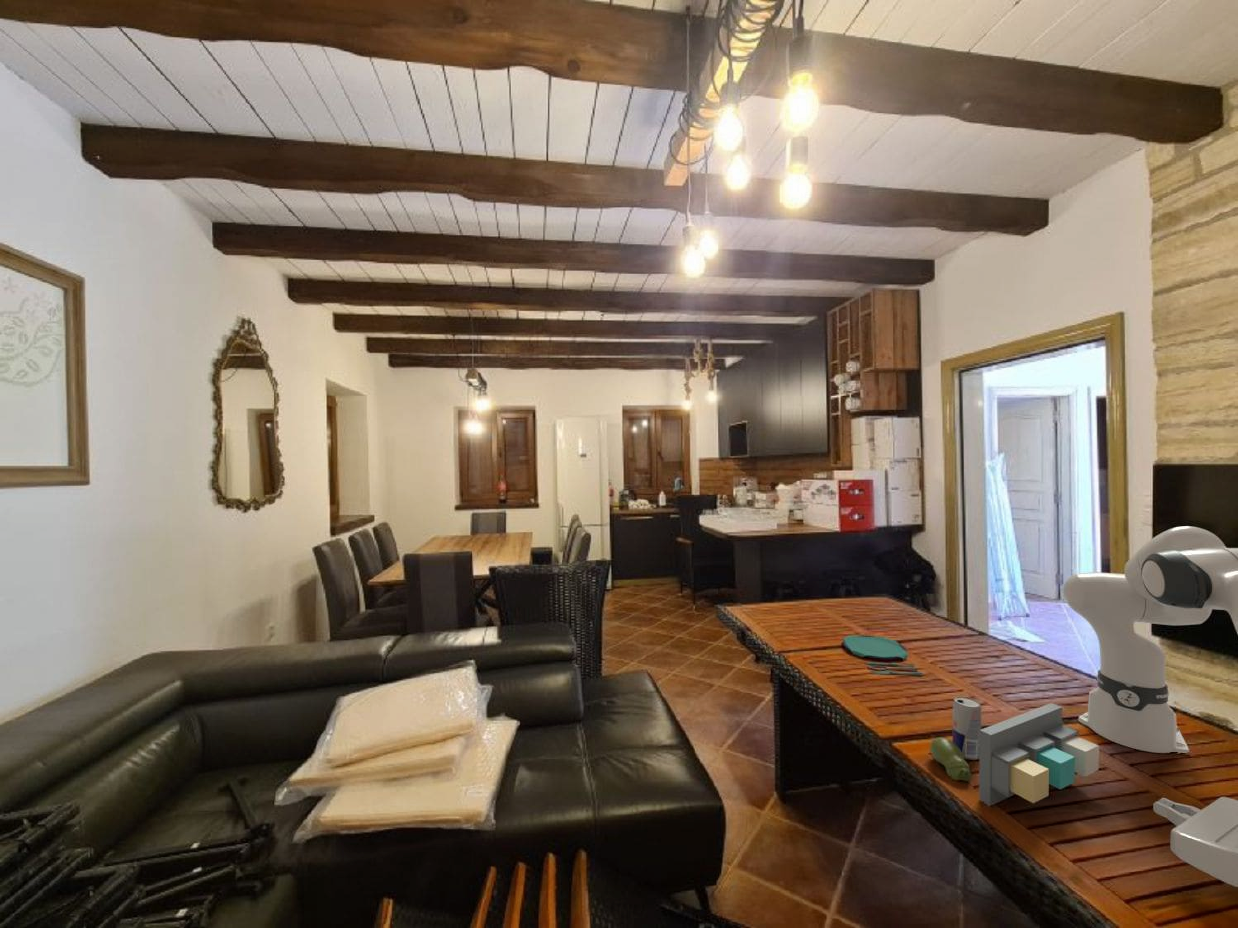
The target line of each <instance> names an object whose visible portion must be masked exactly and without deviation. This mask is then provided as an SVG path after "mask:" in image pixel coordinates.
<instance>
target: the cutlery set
mask: <svg viewBox="0 0 1238 928" xmlns="http://www.w3.org/2000/svg"><path fill="white" fill-rule="evenodd" d="M842 644H843V647H845V649H846V650H847V651H848V650H849V651H850V652H851V653H852V654H853V655H854V656H858V657H860V658H864V657H865V658H870V659H871V658H872V659H878V660H895V659H900V658H902V660H903V661H905V660H907V658H908V657H909V655H908V650H907V648H906V647H905V646H904V645H903V644H901V643H900V642H898V641H896V640H894V639H891V638H887V637H883V636H875V635H863V634H862V635H855V634H854V635H853V634H852V635H848V636H846V637H843V638H842ZM865 665H867V668H869V669H871V671H870V672H871V673H872V674H873V675H885V676H890V675H893V674H894V675H899V676H919V677H923V672H921V671H920V672H919V669H918V667H915V665H914V664H905V663H903V664H902V663H897V662H889V663H887V662H874V661H873V662H871V661H868V662H865ZM887 666H890V667H887ZM892 666H893V667H892ZM896 666H901V667H896ZM903 666H906V667H903ZM907 666H908V667H907ZM878 668H881V669H878ZM892 670H905V671H906V670H909V671H913V672H901V671H900V672H899V671H892Z"/></svg>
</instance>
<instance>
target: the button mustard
mask: <svg viewBox="0 0 1238 928" xmlns="http://www.w3.org/2000/svg"><path fill="white" fill-rule="evenodd" d="M1049 788H1050V784H1049V769H1048V768H1046V767H1043V766H1041V765H1039V764H1037V763H1035V762H1033V761H1031V760H1029V759H1027V758H1023V759H1020V760H1018V761H1016V762H1014V763H1011V764H1010V791H1011V792H1013V793H1015V794H1014V795H1017V796H1019V797H1021V798H1023V799H1024V800H1026V801H1028V802H1030V803H1032V804H1035V803H1037V802H1039V801H1041V800H1043V799H1045V798H1047V797H1048V796H1050V795H1049V790H1050V789H1049Z"/></svg>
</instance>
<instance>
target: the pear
mask: <svg viewBox="0 0 1238 928" xmlns="http://www.w3.org/2000/svg"><path fill="white" fill-rule="evenodd" d="M929 747H930V748H929V751H930V753H931V756H932V757H933V759H934V760H935V761H936V762H937V763H939V764H941V765H943V766H944V768H945V771H946V774H947V776H948V777H949V778H951V779H952V780H953V779H954V780H953V781H959V780H964V781H963V782H970V781H971V778H972V772H971V771H970V765H969V764H968V762H967V761H966V759H964V757H963V754H962V752H961V750H960V749H959V748H958V747H957V746H956V745H955V744H954V743H953V740H950V739H949V738H946V737H942V736H941V737H936V738H934V739H933V740H931V742H930V745H929Z"/></svg>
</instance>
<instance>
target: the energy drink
mask: <svg viewBox="0 0 1238 928" xmlns="http://www.w3.org/2000/svg"><path fill="white" fill-rule="evenodd" d="M981 729H982V707H981V703H980V701H977V700H975V699H973V698H971V697H967V696H956V697H954V698H953V700H952V742H953V743H954V744H955V745H956V746H957V747H958V748H959V749H960V750H961V752H962V754H963V757H964V760H969V761H977V760H980V730H981Z"/></svg>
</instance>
